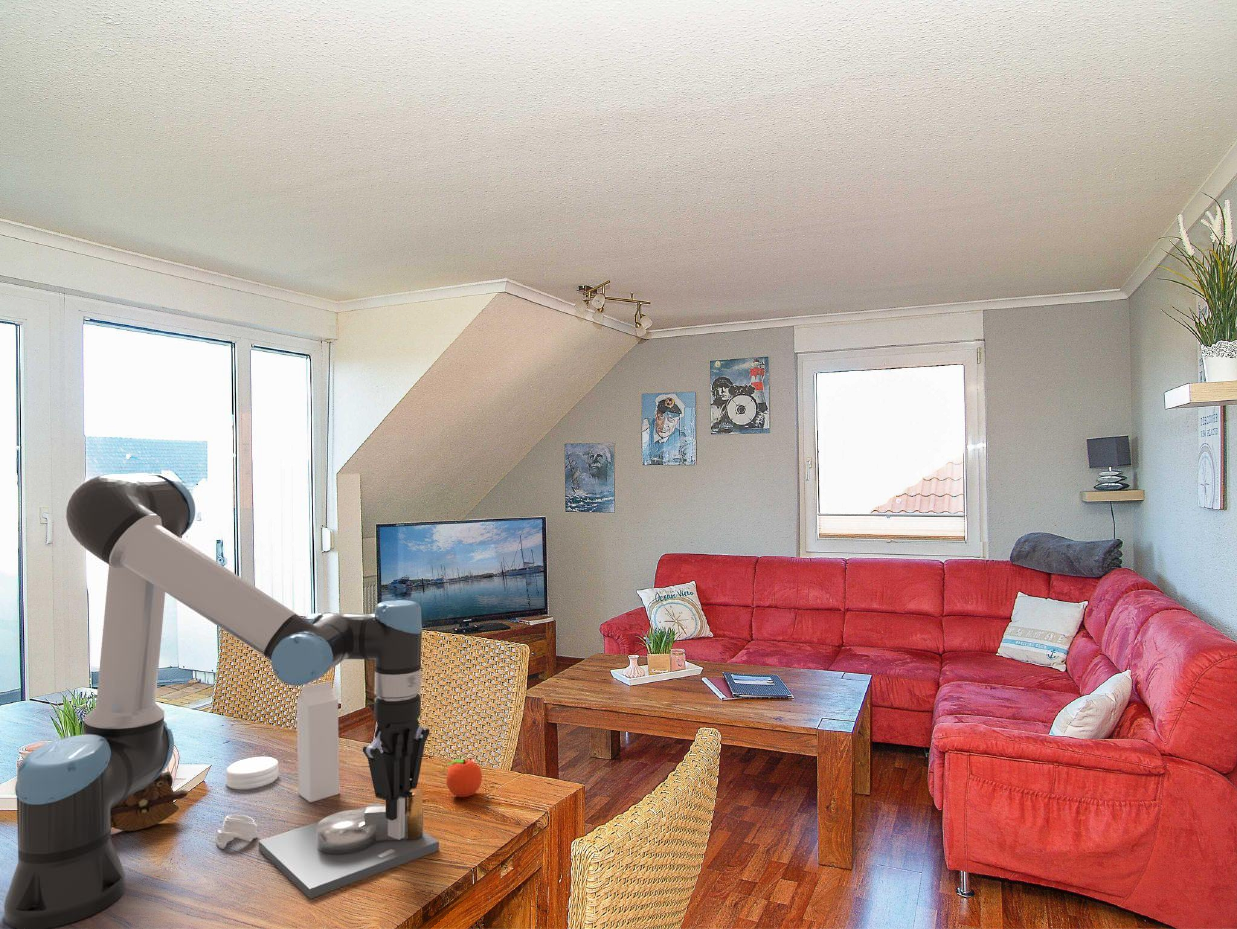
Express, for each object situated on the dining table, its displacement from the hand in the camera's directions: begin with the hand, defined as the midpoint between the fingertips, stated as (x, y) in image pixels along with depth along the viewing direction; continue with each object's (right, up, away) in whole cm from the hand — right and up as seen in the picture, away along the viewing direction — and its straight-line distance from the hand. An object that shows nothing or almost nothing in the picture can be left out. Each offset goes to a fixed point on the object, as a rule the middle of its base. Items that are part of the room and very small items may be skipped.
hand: (396, 836), depth 136 cm
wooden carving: (-50, -4, +12) cm, 52 cm away
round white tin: (-39, -4, +34) cm, 52 cm away
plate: (-9, -4, +3) cm, 10 cm away
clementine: (+6, -3, +25) cm, 26 cm away
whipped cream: (-30, -4, +7) cm, 31 cm away
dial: (-5, -2, +3) cm, 6 cm away
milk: (-23, -4, +27) cm, 35 cm away
